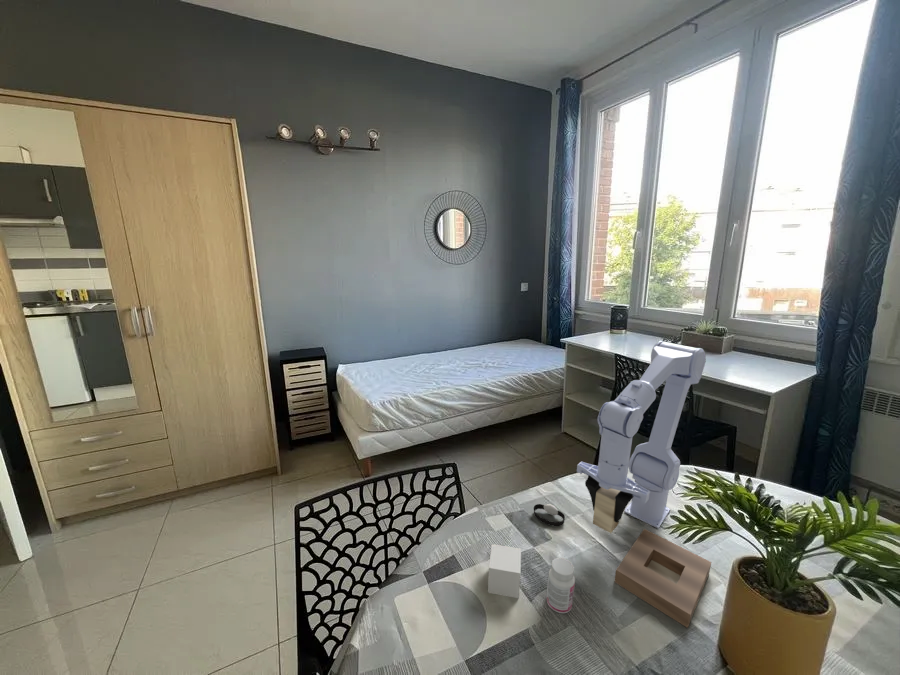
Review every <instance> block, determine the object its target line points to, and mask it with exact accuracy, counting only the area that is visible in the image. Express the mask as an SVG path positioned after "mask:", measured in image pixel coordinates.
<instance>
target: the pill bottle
mask: <svg viewBox="0 0 900 675" xmlns="http://www.w3.org/2000/svg"><path fill="white" fill-rule="evenodd" d="M575 577H576V576H575V567H574V564H573V563H572V562H571V561H570V560H569V559H567V558H564V557H555V558H554V559H552V561H551V568H550V569H549V572H548V576H547V587H546V596H545V597H546V602H547V605H548V606H549V608H550V609H551V610H552V611H554V612H556V613H559V614H567V613H569V612H570V611H571V610H572V609H573V603H574V595H575V594H574V593H575V585H576V578H575Z"/></svg>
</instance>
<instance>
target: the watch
mask: <svg viewBox="0 0 900 675" xmlns="http://www.w3.org/2000/svg"><path fill="white" fill-rule="evenodd" d="M539 509H540V510H544V511H545V512H546V513H547V514H549V515H551V516H559V517H561V519H562V520H560V521H551V520H549V519H546V518H544V517H543V516H540V515H538V514H537V512H536V510H539ZM533 515H534V517H535V519H537V520H538V521H539V522H541V523H542V524H545V525H547V526H548V525H549V526H552V527H561V526H563V525H564V523H565V521H566V520H565V514H564V513H563V511H560V510H558V508H557V507H556V506H555V505H554V504H550V503H547V504H541V503H537V504H535V505H534V506H533Z"/></svg>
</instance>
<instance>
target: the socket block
mask: <svg viewBox="0 0 900 675" xmlns="http://www.w3.org/2000/svg"><path fill="white" fill-rule="evenodd" d="M621 560H622V561H620V563H619V565H618V566H617V568H616V569H615V574H614V581H613V582H614V583H615V584H617V585H619V586H620V587H621V588H623V589H624V590H626V591H628V592H629V593H631V594H633V595H634V596H635V597H637V598H639V599H641V600H642V601H644V602H645V603H647V604H649V605H650V606H652V607H653V608H655V609H656V610H659V612H661V613H663V614H665V615H666V616H668V617H669V618H670V619H673V620H674V621H675V622H678V623H679V624H681V625H682V626H683V627H685V628H687V629H688V628H689V627H690V623H691V620H692V618H693V616H694V613H695V610H696V607H697V606H698V603H699V601H700V598H701V596H702V593H703V590H704V587H705V585H706V583H707V581H708V578H709V576H710V571H711V566H712V561H710V560H708V559H706V558H704V557H701V556H699V555H698V554H696V553H693V552H692V551H691V550H688V549H685V548H684V547H682V546H680V545H678V544H675V543H674V542H672V541H670V540H668V539H666V538H664V537H662V536H660V535H658V534H656V533H654V532H652V531H650V530H648V529H646V528H643V529H642V531H641V532H640V534H639V536H638V537H637V538H636V540H635V541H634V543H633V544H632V545H631V548H629V549H628V551H627V553H626V555H625V556H624V557H623V559H621Z"/></svg>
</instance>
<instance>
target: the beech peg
mask: <svg viewBox="0 0 900 675" xmlns="http://www.w3.org/2000/svg"><path fill="white" fill-rule="evenodd" d="M619 492H620V491H619V490H615V489H612V488H610V489H605V488H602V487H601V488H600V489H599V490H598V491H597V492H596V499H595V508H594V510H593V518H592V524H593V525H595V526H596V527H599V528H600V529H601V530H604V531H605V532H607V533H609V534H612V533H613V531H614V530H616V528H617V526H619V524H620V521H619V522H618V523H617V522H615V521H614V516H615V511H616V500H615V496H616V495H617V494H618V493H619Z"/></svg>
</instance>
